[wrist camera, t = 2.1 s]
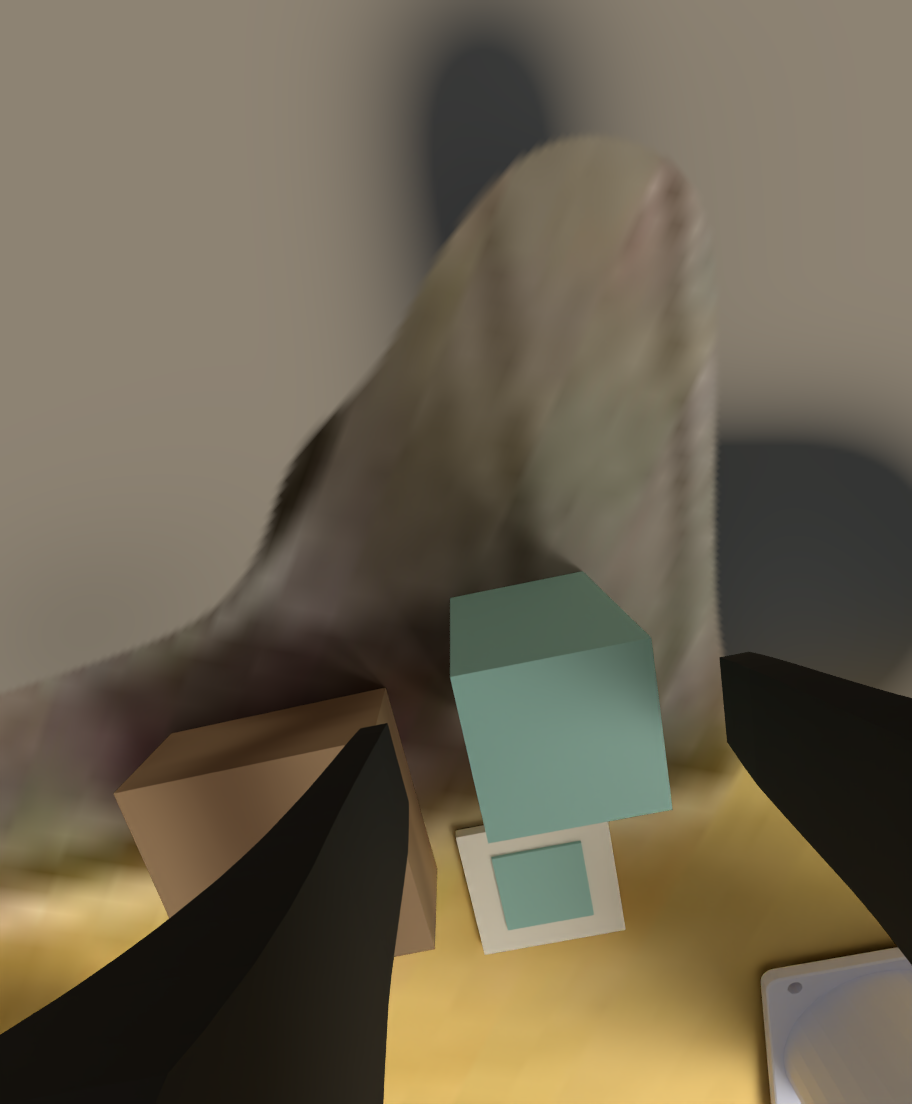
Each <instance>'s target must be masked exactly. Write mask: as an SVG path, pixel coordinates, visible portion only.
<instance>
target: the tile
mask: <svg viewBox="0 0 912 1104" xmlns="http://www.w3.org/2000/svg"><path fill="white" fill-rule="evenodd" d="M456 841H457V845H458V849H459V853H460V857H461V861H462V865H463V869H464V873H465V877H466V881H467V885H468V889H469V893H470V897H471V901H472V905H473V909H474V913H475V917H476V921H477V925H478V929H479V933H480V937H481V942H482V946H483V950H484V954H485V955H487V954H493V953H498V952H504V951H510V950H515V949H521V948H527V947H532V946H538V945H543V944H549V943H555V942H560V941H566V940H571V939H577V938H583V937H588V936H594V935H600V934H605V933H611V932H616V931H622V930H626V929H625V922H624V916H623V910H622V904H621V898H620V892H619V885H618V879H617V873H616V867H615V861H614V854H613V848H612V842H611V836H610V830H609V824H608V822H603V823H597V824H592V825H586V826H581V827H575V828H570V829H564V830H559V831H554V832H548V833H543V834H537V835H532V836H526V837H521V838H515V839H510V840H504V841H499V842H494V843H488V840H487V836H486V832H485V827H484V825H482V826H477V827H472V828H466V829H461V830H456Z"/></svg>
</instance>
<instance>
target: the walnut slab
mask: <svg viewBox="0 0 912 1104" xmlns="http://www.w3.org/2000/svg"><path fill="white" fill-rule="evenodd" d="M385 723H388V726H389V730H390V734H391V737H392V741H393V745H394V748H395V752H396V756H397V759H398V763H399V767H400V771H401V774H402V778H403V782H404V785H405V789H406V793H407V797H408V800H409V843H408V857H407V865H406V873H405V880H404V888H403V895H402V902H401V909H400V917H399V924H398V931H397V938H396V945H395V953H394V957H396V956H401V955H406V954H412V953H417V952H422V951H427V950H432V949H435V928H436V895H437V866H436V863H435V859H434V856H433V852H432V849H431V845H430V842H429V838H428V835H427V831H426V828H425V824H424V821H423V817H422V814H421V810H420V806H419V803H418V799H417V796H416V792H415V789H414V785H413V782H412V778H411V775H410V771H409V768H408V764H407V761H406V757H405V754H404V750H403V747H402V743H401V740H400V736H399V733H398V729H397V726H396V722H395V718H394V715H393V711H392V708H391V704H390V701H389V697H388V694H387V690H386V688H381V689H377V690H372V691H367V692H363V693H358V694H353V695H349V696H344V697H339V698H335V699H330V700H325V701H321V702H316V703H311V704H307V705H302V706H297V707H293V708H288V709H283V710H279V711H274V712H269V713H265V714H260V715H255V716H251V717H246V718H241V719H237V720H232V721H227V722H223V723H218V724H213V725H209V726H204V727H199V728H195V729H190V730H185V731H181V732H176V733H171V734H170V735H169V736H168V737H167V738H166V739H165V740H164V741H163V743H162V744H161V745H160V746H159V747H158V748H157V749H156V750H155V751H154V752H153V753H152V754H151V755H150V756H149V757H148V758H147V759H146V760H145V761H144V762H143V763H142V764H141V765H140V766H139V768H138V769H137V770H136V771H135V772H134V773H133V774H132V775H131V776H130V777H129V778H128V779H127V780H126V781H125V782H124V783H123V784H122V785H121V786H120V787H119V788H118V789H117V790H116V792H115V793H114V796H115V798H116V800H117V802H118V805H119V807H120V809H121V811H122V814H123V816H124V818H125V820H126V823H127V825H128V827H129V829H130V831H131V834H132V836H133V838H134V840H135V843H136V845H137V847H138V849H139V852H140V854H141V856H142V858H143V860H144V863H145V865H146V867H147V869H148V872H149V874H150V876H151V878H152V881H153V883H154V885H155V887H156V889H157V892H158V894H159V896H160V898H161V901H162V903H163V905H164V907H165V909H166V912H167V914H168V916H169V918H171V917H172V916H173V915H174V914H175V913H177V912H178V911H179V910H180V909H182V908H183V907H184V906H185V905H187V904H188V903H189V902H190V901H192V900H193V899H194V898H195V897H197V896H198V895H199V894H200V893H201V892H203V891H204V890H205V889H206V888H208V887H209V886H210V885H211V884H213V883H214V882H215V881H216V880H217V879H218V878H219V877H221V876H222V875H223V874H224V873H225V872H226V871H227V870H228V869H230V868H231V867H232V866H233V865H234V864H235V863H236V862H237V861H238V860H239V859H241V858H242V857H243V856H244V855H245V854H246V853H247V852H248V851H249V850H250V849H251V848H252V847H253V846H254V845H255V844H257V843H258V842H259V841H260V840H261V839H262V838H263V837H264V836H265V835H266V834H267V833H268V832H269V831H270V830H271V829H272V828H273V826H274V825H275V824H276V823H277V822H278V821H279V820H280V819H281V818H282V817H283V816H284V815H285V814H286V813H287V811H288V810H289V809H290V808H291V807H292V806H293V805H294V804H295V803H296V802H297V801H298V800H299V799H300V798H301V797H302V795H303V794H304V793H305V792H306V791H307V790H308V789H309V788H310V786H311V785H312V784H313V783H314V782H315V781H316V779H317V778H318V777H319V776H320V775H321V774H322V772H323V771H324V770H325V769H326V768H327V767H328V765H329V764H330V763H331V762H332V761H333V759H334V758H335V757H336V756H337V755H338V753H339V752H340V751H341V750H342V749H343V747H344V746H345V745H346V744H347V743H348V741H349V740H350V739H351V738H352V737H353V736H354V734H355V733H356V732H357V731H358V730H359V729H360V728H364V727H369V726H374V725H380V724H385Z"/></svg>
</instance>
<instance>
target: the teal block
mask: <svg viewBox="0 0 912 1104" xmlns="http://www.w3.org/2000/svg"><path fill="white" fill-rule="evenodd" d="M450 679H451V683H452V688H453V692H454V696H455V701H456V705H457V709H458V714H459V718H460V723H461V727H462V731H463V736H464V740H465V744H466V749H467V753H468V757H469V762H470V766H471V771H472V775H473V779H474V784H475V788H476V792H477V797H478V801H479V805H480V810H481V814H482V819H483V823H484V827H485V832H486V836H487V840H488V843H494V842H499V841H504V840H510V839H515V838H521V837H526V836H532V835H537V834H543V833H548V832H554V831H559V830H564V829H570V828H575V827H581V826H586V825H592V824H597V823H603V822H608V821H614V820H619V819H624V818H630V817H635V816H641V815H646V814H652V813H657V812H663V811H668V810H673V809H672V801H671V793H670V785H669V777H668V769H667V761H666V753H665V745H664V737H663V728H662V720H661V712H660V704H659V696H658V688H657V680H656V672H655V664H654V656H653V648H652V640H651V637H650V636H649V635H648V634H647V633H646V632H645V631H644V630H643V629H642V628H641V627H640V626H639V625H638V624H637V623H635V622H634V621H633V620H632V619H631V618H630V617H629V616H628V615H627V614H626V613H625V612H624V611H623V610H622V609H621V608H620V607H619V606H618V605H617V604H616V603H615V602H614V601H613V600H612V599H611V598H610V597H609V596H608V595H607V594H606V593H604V592H603V591H602V590H601V589H600V588H599V587H598V586H597V585H596V584H595V583H594V582H593V581H592V580H591V579H590V578H589V577H588V576H587V575H586V574H585V573H584V572H583V571H581V572H576V573H571V574H566V575H562V576H557V577H552V578H547V579H542V580H537V581H532V582H527V583H522V584H517V585H512V586H507V587H502V588H497V589H492V590H487V591H482V592H477V593H472V594H467V595H463V596H458V597H453V598H450Z"/></svg>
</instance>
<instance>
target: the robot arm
mask: <svg viewBox="0 0 912 1104" xmlns="http://www.w3.org/2000/svg"><path fill="white" fill-rule="evenodd" d="M720 667H721V679H722V690H723V701H724V712H725V723H726V734H727V742H728V744H729V745H730V747H731V748H732V750H733V751H734V753H735V754H736V755H737V757H738V758H739V760H740V761H741V763H742V764H743V766H744V767H745V769H746V770H747V771H748V773H749V774H750V775H751V777H752V778H753V780H754V781H755V782H756V784H757V785H758V786H759V787H760V789H761V790H762V791H763V792H764V793H765V794H766V795H767V797H768V798H769V799H770V800H771V801H772V802H773V803H774V805H775V806H776V807H777V808H778V809H779V810H780V811H781V812H782V813H783V815H784V816H785V817H786V818H787V819H788V820H789V821H790V822H791V824H792V825H793V826H794V827H795V828H796V829H797V830H798V831H799V832H800V833H801V835H802V836H803V837H804V838H805V839H806V840H807V841H808V842H809V843H810V845H811V846H812V847H813V848H814V849H815V850H816V851H817V852H818V853H819V854H820V856H821V857H822V858H823V859H824V860H825V861H826V862H827V863H828V864H829V866H830V867H831V868H832V869H833V870H834V871H835V872H836V873H837V874H838V875H839V877H840V878H841V879H842V880H843V881H844V882H845V883H846V884H847V885H848V887H849V888H850V889H851V890H852V891H853V892H854V893H855V895H856V896H857V897H858V898H859V899H860V900H861V902H862V903H863V904H864V905H865V906H866V908H867V909H868V910H869V911H870V912H871V913H872V915H873V916H874V917H875V918H876V919H877V921H878V922H879V923H880V925H881V926H882V927H883V929H884V930H885V931H886V932H887V934H888V935H889V936H890V938H891V939H892V940H893V942H894V943H895V944H896V945H897V947H895V948H890V949H884V950H878V951H872V952H867V953H861V954H855V955H849V956H844V957H838V958H832V959H826V960H821V961H815V962H809V963H803V964H798V965H792V966H786V967H780V968H774V969H771V970H768V971H766V972H765V973H764V974H763V976H762V977H761V993H762V1004H763V1016H764V1028H765V1039H766V1051H767V1062H768V1074H769V1086H770V1097H771V1104H912V698H909V697H905V696H901V695H897V694H894V693H890V692H887V691H883V690H880V689H876V688H873V687H869V686H866V685H863V684H859V683H856V682H852V681H849V680H846V679H842V678H839V677H836V676H833V675H829V674H826V673H823V672H819V671H816V670H813V669H810V668H806V667H803V666H799V665H797V664H793V663H790V662H787V661H783V660H780V659H776V658H773V657H769V656H765V655H761V654H756V653H752V652H745V653H740V654H735V655H730V656H725V657H720ZM408 843H409V800H408V797H407V793H406V789H405V785H404V782H403V778H402V774H401V771H400V767H399V763H398V759H397V756H396V752H395V748H394V745H393V741H392V737H391V734H390V730H389V726H388V723H385V724H380V725H374V726H369V727H364V728H360V729H359V730H358V731H357V732H356V733H355V734H354V736H353V737H352V738H351V739H350V740H349V741H348V743H347V744H346V745H345V746H344V747H343V749H342V750H341V751H340V752H339V753H338V755H337V756H336V757H335V758H334V759H333V761H332V762H331V763H330V764H329V765H328V767H327V768H326V769H325V770H324V771H323V772H322V774H321V775H320V776H319V777H318V778H317V779H316V781H315V782H314V783H313V784H312V785H311V786H310V788H309V789H308V790H307V791H306V792H305V793H304V794H303V795H302V797H301V798H300V799H299V800H298V801H297V802H296V803H295V804H294V805H293V806H292V807H291V808H290V809H289V810H288V811H287V813H286V814H285V815H284V816H283V817H282V818H281V819H280V820H279V821H278V822H277V823H276V824H275V825H274V826H273V828H272V829H271V830H270V831H269V832H268V833H267V834H266V835H265V836H264V837H263V838H262V839H261V840H260V841H259V842H258V843H257V844H255V845H254V846H253V847H252V848H251V849H250V850H249V851H248V852H247V853H246V854H245V855H244V856H243V857H242V858H241V859H239V860H238V861H237V862H236V863H235V864H234V865H233V866H232V867H231V868H230V869H228V870H227V871H226V872H225V873H224V874H223V875H222V876H221V877H219V878H218V879H217V880H216V881H215V882H214V883H213V884H211V885H210V886H209V887H208V888H206V889H205V890H204V891H203V892H201V893H200V894H199V895H198V896H197V897H195V898H194V899H193V900H192V901H190V902H189V903H188V904H187V905H185V906H184V907H183V908H182V909H180V910H179V911H178V912H177V913H175V914H174V915H173V916H172V917H171V918H169V919H168V920H167V921H166V922H164V923H163V924H162V925H161V926H159V927H158V928H157V929H155V930H154V931H153V932H151V933H150V934H149V935H147V936H146V937H145V938H143V939H142V940H141V941H139V942H138V943H137V944H135V945H134V946H132V947H131V948H130V949H128V950H127V951H126V952H124V953H123V954H122V955H120V956H119V957H117V958H116V959H115V960H113V961H112V962H110V963H109V964H107V965H106V966H105V967H103V968H102V969H100V970H99V971H97V972H96V973H94V974H93V975H92V976H90V977H89V978H87V979H86V980H84V981H83V982H82V983H80V984H79V985H77V986H76V987H74V988H73V989H71V990H70V991H68V992H67V993H65V994H64V995H62V996H61V997H59V998H58V999H56V1000H55V1001H53V1002H51V1003H50V1004H48V1005H47V1006H45V1007H43V1008H42V1009H40V1010H39V1011H37V1012H36V1013H34V1014H32V1015H31V1016H29V1017H28V1018H26V1019H24V1020H23V1021H21V1022H20V1023H18V1024H17V1025H15V1026H13V1027H12V1028H10V1029H9V1030H7V1031H5V1032H4V1033H2V1034H1V1035H0V1104H383V1099H384V1075H385V1057H386V1039H387V1020H388V1004H389V994H390V984H391V974H392V967H393V960H394V953H395V945H396V938H397V931H398V924H399V917H400V909H401V902H402V895H403V888H404V880H405V873H406V865H407V857H408Z"/></svg>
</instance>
